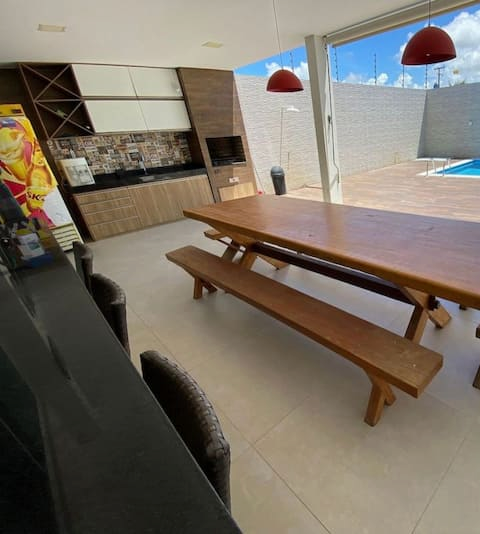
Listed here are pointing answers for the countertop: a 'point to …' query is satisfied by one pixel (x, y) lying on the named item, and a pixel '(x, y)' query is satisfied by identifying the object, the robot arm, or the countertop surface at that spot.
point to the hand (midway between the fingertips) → (28, 242)
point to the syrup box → (30, 245)
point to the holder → (38, 260)
